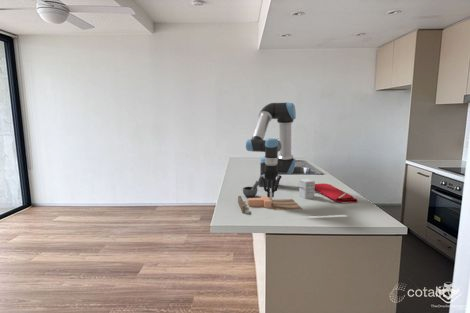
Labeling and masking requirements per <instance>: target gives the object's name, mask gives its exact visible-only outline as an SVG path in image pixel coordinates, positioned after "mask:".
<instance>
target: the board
mask: <svg viewBox="0 0 470 313" xmlns="http://www.w3.org/2000/svg"><path fill="white" fill-rule="evenodd" d="M237 198H238V199H237V204H238V206H239V209H240V210H241V212H242V214H251V213H252V211H251V209H250V207H249V206H248V202H246V200H243V198H242V196H241V195H238V196H237ZM271 208H272V209H273V210H274V211H286V210H287V211H289V210H291V211H292V210H303V207H302V206H300V205H299V204H298V203H297V202H296V201H295V200H294V199H293V198H287V199H285V198H283V199H281V198H280V199H278V198H277V199H272V203H271Z"/></svg>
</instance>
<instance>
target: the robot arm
mask: <svg viewBox="0 0 470 313" xmlns="http://www.w3.org/2000/svg"><path fill="white" fill-rule="evenodd" d="M296 114H297V112H296V107H295V104H294V103H293V102H270V103H269V104H268V103H267V104H266V105H265V106H264V107H262V108H261V110H260V111H259V114H258V121H257V123H256V126H255V128H254V131H253V134H252V136H251V138H249V139H247V140H246V142H245V149H246V151H248V152H255V153H256V152H258V153H259V152H260V153H264V155H265V156H262V157H260V162H259V163H260V166H259V168H260V169H259V170H260V173H259V174H260V175H259V178H258V180H257V181H258V182H259V183H260V184H258V186H259V187H261V188H263V190H264V192H265V193H266V196H267V197H268V198H269V199H270V200H271V203H272V200H273V198H274V197H275V193H276V192H277V191H278V188H279V184H280V181H281V179H282V175H280V174H288V175H289V174H293V172H294V170H295V166H296V158H294V155H293V154H292V123H294V121H295V120H296V119H297V118H296V117H297V116H296ZM272 120H276V121H277V123H278V124H279V126H278V127H279V140H278V138H273V137H272V138H271V137H270V138H266V139H265V136H266V133H267V130H268V127H269V124H270V122H271V121H272ZM278 154H279V155H278Z"/></svg>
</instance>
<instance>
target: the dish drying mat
mask: <svg viewBox="0 0 470 313" xmlns="http://www.w3.org/2000/svg"><path fill="white" fill-rule="evenodd" d="M314 191H316V192H317V193H320V194H321V195H323V196H325V197H327V198H329V199H331V200H332V201H334V202H337V203H340V202H349V203H357V202H358V199H357V198H355V197H354V196H352V195H351V194H349V193H347V192H346V191H343V190H342V189H339V188H337V187H335V186H333V185H331V184H329V183H324V182H323V183H315V189H314Z"/></svg>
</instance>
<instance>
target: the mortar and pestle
mask: <svg viewBox="0 0 470 313" xmlns="http://www.w3.org/2000/svg"><path fill="white" fill-rule="evenodd" d="M258 181H259V180H256V181H255V183H254V184H253V186H243V188H242V193H243V196H245V198H247V199H248V198H255V196H257V193H258V186H259V185H258V184H260V183H259V182H258Z"/></svg>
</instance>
